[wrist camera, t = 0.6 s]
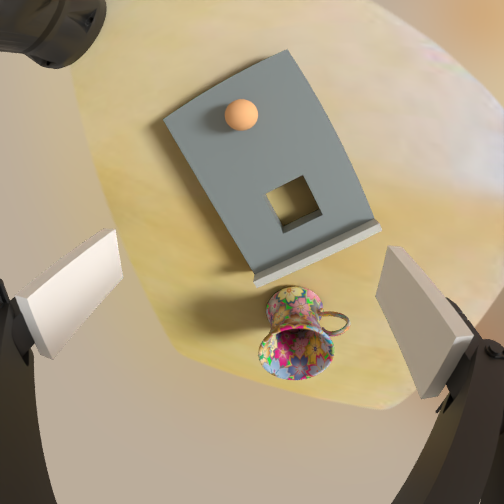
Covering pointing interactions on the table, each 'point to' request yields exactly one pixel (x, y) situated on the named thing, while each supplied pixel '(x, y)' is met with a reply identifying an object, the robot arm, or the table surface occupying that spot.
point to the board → (273, 168)
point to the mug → (297, 335)
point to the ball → (241, 114)
